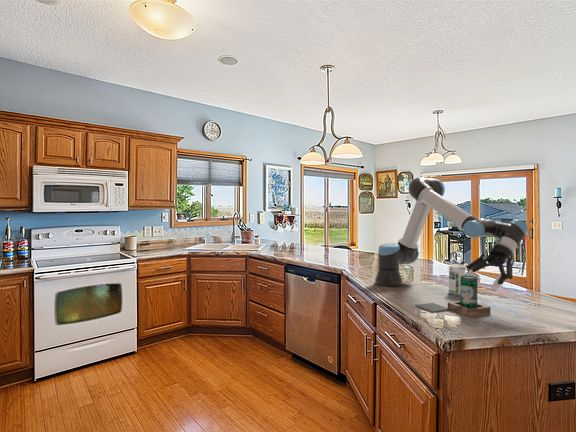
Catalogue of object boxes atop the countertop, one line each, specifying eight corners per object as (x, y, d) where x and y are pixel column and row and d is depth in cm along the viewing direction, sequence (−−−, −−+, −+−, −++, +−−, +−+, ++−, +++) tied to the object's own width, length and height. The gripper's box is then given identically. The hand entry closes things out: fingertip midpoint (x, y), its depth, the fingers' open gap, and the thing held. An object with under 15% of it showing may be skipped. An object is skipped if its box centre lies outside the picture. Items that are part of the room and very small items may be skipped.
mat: (415, 306, 148) (415, 304, 148) (432, 304, 151) (432, 302, 151) (432, 312, 138) (432, 311, 138) (450, 310, 142) (450, 308, 142)
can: (458, 311, 140) (458, 276, 140) (463, 308, 144) (463, 274, 144) (474, 314, 136) (474, 279, 135) (478, 311, 140) (479, 276, 140)
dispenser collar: (447, 309, 144) (447, 302, 143) (467, 306, 147) (467, 299, 147) (470, 317, 133) (470, 309, 133) (490, 314, 137) (490, 307, 137)
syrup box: (447, 292, 172) (448, 265, 172) (456, 291, 174) (456, 264, 174) (456, 295, 167) (457, 267, 167) (465, 294, 169) (466, 266, 169)
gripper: (537, 258, 135) (511, 298, 130) (482, 251, 158) (458, 285, 153) (528, 246, 133) (502, 286, 128) (474, 241, 156) (450, 274, 151)
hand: (478, 285), depth 140 cm, fingers open, 13 cm apart
